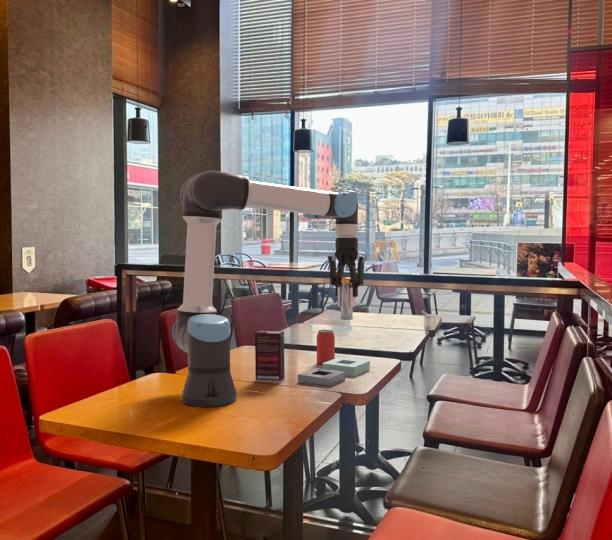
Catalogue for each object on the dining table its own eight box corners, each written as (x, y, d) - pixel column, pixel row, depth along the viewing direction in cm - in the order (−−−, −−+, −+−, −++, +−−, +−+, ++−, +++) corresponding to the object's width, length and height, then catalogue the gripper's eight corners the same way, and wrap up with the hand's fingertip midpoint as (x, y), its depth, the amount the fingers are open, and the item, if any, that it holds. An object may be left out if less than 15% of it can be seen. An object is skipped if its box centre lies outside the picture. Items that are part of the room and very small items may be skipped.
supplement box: (285, 380, 187) (284, 331, 186) (280, 383, 182) (280, 333, 182) (259, 378, 189) (259, 330, 188) (254, 382, 184) (254, 332, 184)
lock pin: (349, 320, 195) (349, 278, 194) (338, 319, 197) (338, 278, 196) (354, 318, 198) (354, 277, 198) (344, 318, 200) (344, 277, 200)
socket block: (354, 377, 190) (354, 367, 190) (322, 373, 196) (322, 363, 196) (369, 370, 201) (369, 360, 200) (338, 367, 207) (338, 357, 207)
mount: (328, 388, 176) (328, 378, 176) (297, 383, 182) (297, 374, 182) (345, 381, 186) (345, 371, 186) (315, 376, 192) (315, 367, 191)
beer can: (337, 362, 214) (338, 330, 213) (328, 366, 208) (329, 332, 208) (322, 361, 217) (322, 329, 217) (313, 364, 212) (313, 331, 211)
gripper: (374, 237, 195) (374, 306, 196) (329, 237, 204) (329, 303, 205) (364, 236, 189) (364, 308, 190) (319, 237, 197) (319, 306, 199)
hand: (346, 306), depth 197 cm, fingers closed on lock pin, 4 cm apart
